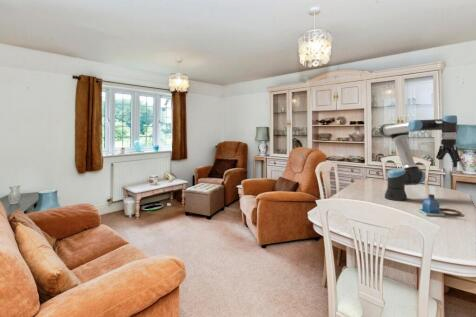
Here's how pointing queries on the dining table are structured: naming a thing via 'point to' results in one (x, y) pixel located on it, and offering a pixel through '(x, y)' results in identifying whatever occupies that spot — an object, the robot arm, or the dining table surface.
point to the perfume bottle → (431, 205)
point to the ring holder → (450, 213)
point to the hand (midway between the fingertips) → (446, 170)
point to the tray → (430, 214)
